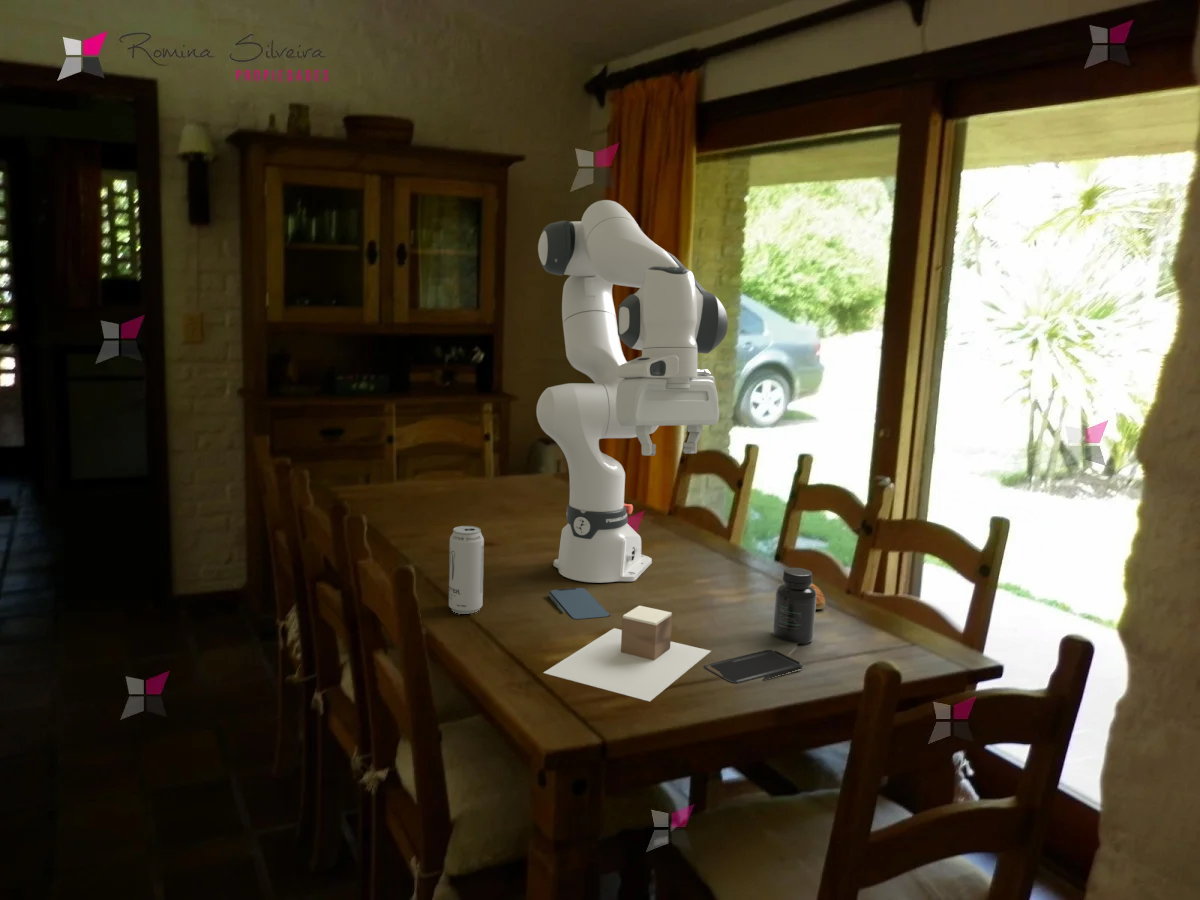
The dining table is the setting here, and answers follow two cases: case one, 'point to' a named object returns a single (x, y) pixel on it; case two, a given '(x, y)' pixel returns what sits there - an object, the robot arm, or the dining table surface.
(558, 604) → the smartphone
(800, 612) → the supplement bottle
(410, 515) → the dining table surface
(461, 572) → the energy drink can
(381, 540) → the dining table surface
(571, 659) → the white mat
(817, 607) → the pastry
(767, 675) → the phone
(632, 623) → the walnut cube
